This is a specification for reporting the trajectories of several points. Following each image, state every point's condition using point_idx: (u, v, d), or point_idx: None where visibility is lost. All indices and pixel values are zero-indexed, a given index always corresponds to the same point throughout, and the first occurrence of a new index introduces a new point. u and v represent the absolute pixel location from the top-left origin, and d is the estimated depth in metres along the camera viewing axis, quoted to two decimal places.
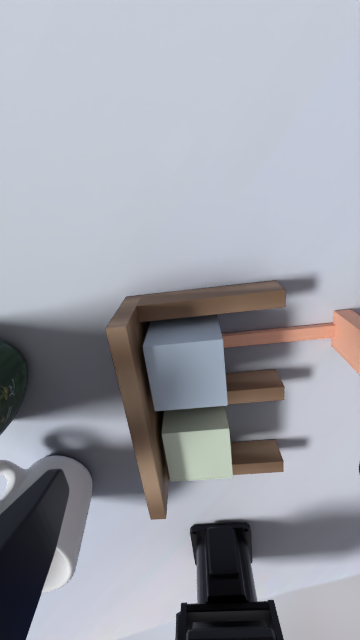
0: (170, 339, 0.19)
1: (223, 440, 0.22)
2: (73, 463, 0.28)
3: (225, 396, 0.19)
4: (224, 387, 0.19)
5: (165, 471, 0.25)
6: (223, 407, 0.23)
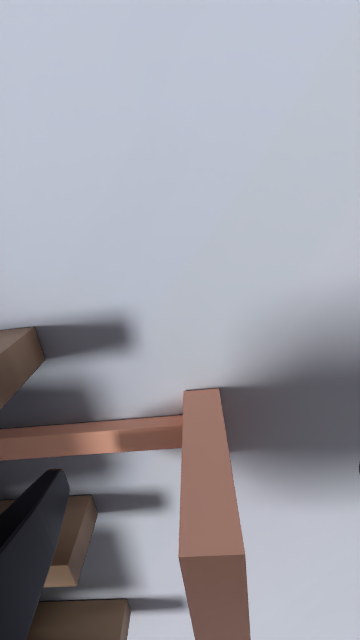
0: None
1: None
2: None
3: None
4: None
5: None
6: None
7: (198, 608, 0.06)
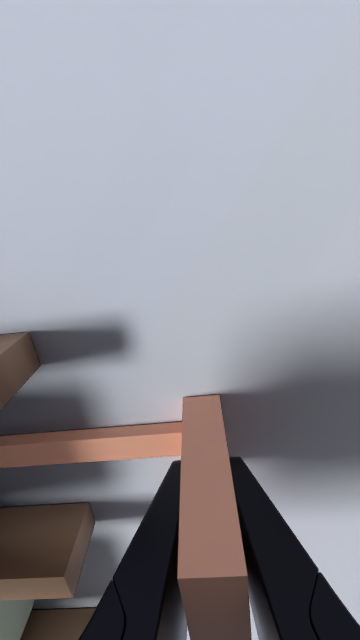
0: None
1: None
2: None
3: None
4: None
5: None
6: None
7: (198, 629, 0.06)
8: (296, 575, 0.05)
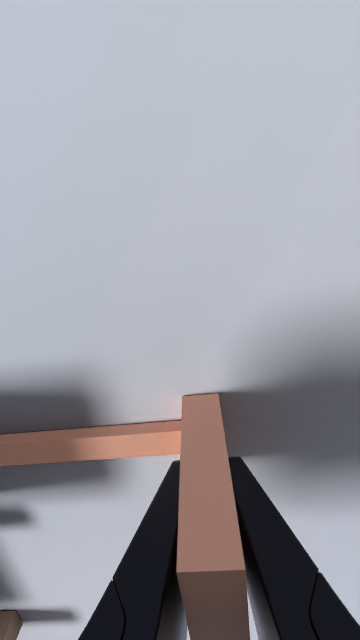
0: None
1: None
2: None
3: None
4: None
5: None
6: None
7: (196, 624, 0.06)
8: (296, 575, 0.05)
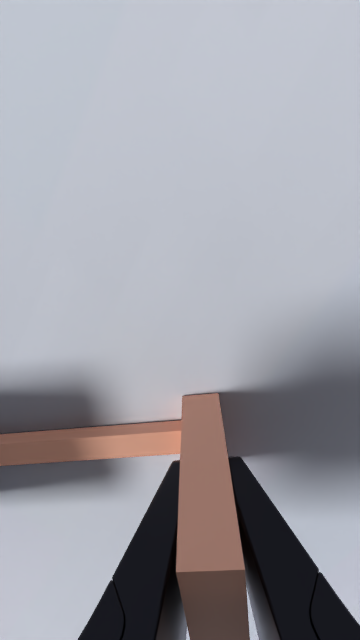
0: None
1: None
2: None
3: None
4: None
5: None
6: None
7: (196, 624, 0.06)
8: (296, 575, 0.05)
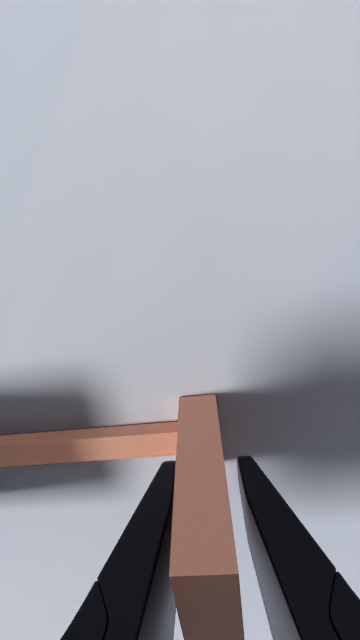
0: None
1: None
2: None
3: None
4: None
5: None
6: None
7: (190, 627, 0.06)
8: (314, 575, 0.05)
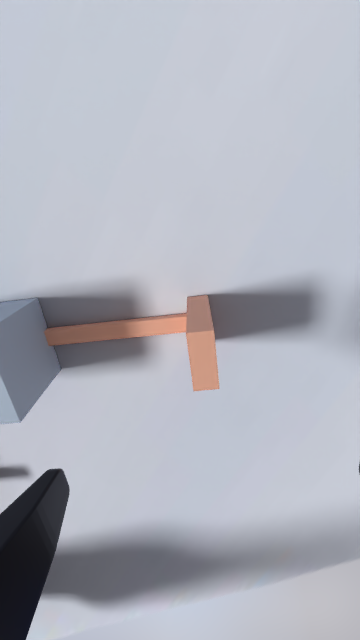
0: None
1: None
2: None
3: (13, 410, 0.14)
4: (7, 398, 0.14)
5: None
6: None
7: (194, 366, 0.13)
8: None
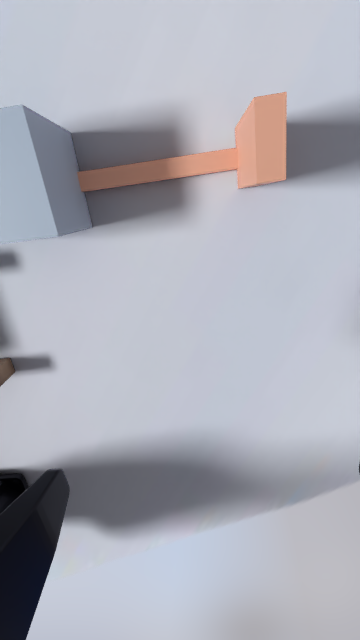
0: None
1: None
2: None
3: (51, 219, 0.13)
4: (46, 202, 0.13)
5: None
6: None
7: (260, 147, 0.12)
8: None
